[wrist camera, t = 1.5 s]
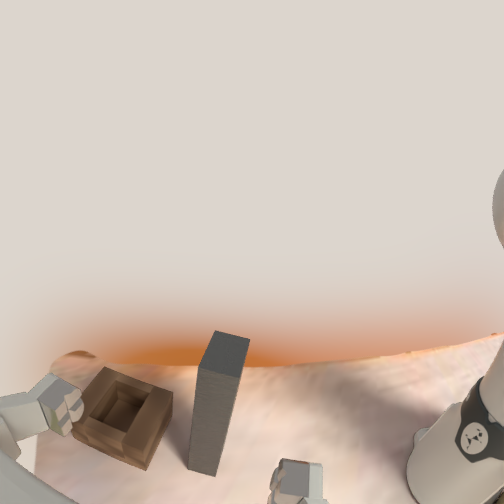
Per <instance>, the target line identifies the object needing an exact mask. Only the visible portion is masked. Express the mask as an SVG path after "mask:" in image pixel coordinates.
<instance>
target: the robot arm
mask: <svg viewBox="0 0 504 504" xmlns="http://www.w3.org/2000/svg"><path fill="white" fill-rule="evenodd" d="M492 209H493V220H494V225H495V229H496V232H497V235H498V238H499V240H500V242H501V244H502V246H503V248H504V170H503V171H502V173H501V175H500V177H499V179H498V181H497V184H496V187H495V190H494V195H493V206H492ZM81 395H82V394H81V390H80V389H79V388H77V387H75V386H73V385H71V384H70V383H68V382H66V381H64V380H63V379H61V378H59V377H58V376H56V375H54V374H53V373H49V374H47V375H46V376H45V377H44V378H43V379H42V380H41V381H40V382H39V383H38V384H37V385H36V386H35V387H33V389H31V390H30V391H29V392H28V393H26V392H22V393H17V394H13V395H9V396H3V397H0V504H78V503H77V502H75V501H73V500H72V499H70V498H68V497H66V496H65V495H63V494H62V493H60V492H58V491H57V490H55V489H54V488H52V487H51V486H49V485H48V484H46V483H45V482H43V481H42V480H40V479H39V478H38V477H36V476H35V475H33V474H32V473H31V472H29V471H28V470H27V469H25V468H24V467H23V466H21V465H20V464H18V463H17V462H16V461H15V460H16V459H17V458H18V457H19V455H20V454H21V450H20V448H19V446H18V445H17V443H16V442H17V441H19V440H23V439H25V438H28V437H30V436H33V435H36V434H38V433H41V432H43V431H46V430H49V428H50V429H51V430H53V431H55V432H56V433H58V434H60V435H62V436H63V437H66V435H67V434H68V433H69V432H70V430H71V429H72V428H73V425H72V422H76V421H78V420H79V419H80V417H81V416H82V414H83V411H84V403H83V401H82V400H81V398H80V396H81ZM407 480H408V484H409V487H410V489H411V492H412V493H413V495H414V497H415V498H416V500H417V501H418V502H419V503H420V504H493V503H494V501H495V500H496V499H497V497H498V496H499V494H500V493H501V491H502V490H503V488H504V341H503V343H502V345H501V347H500V349H499V351H498V353H497V355H496V357H495V359H494V361H493V363H492V364H491V366H490V368H489V369H488V371H487V373H486V374H485V376H483V377H481V378H480V379H479V380H478V381H477V383H476V384H475V385H474V386H473V387H472V388H471V390H470V391H469V393H468V395H467V397H466V398H465V400H464V401H463V402H459V403H456V404H451V405H450V406H449V407H448V408H447V410H446V411H445V412H444V413H443V414H442V415H441V417H440V418H439V419H438V420H437V421H436V422H435V423H434V425H433V426H432V427H428V428H422V429H420V430H419V431H418V432H417V433H416V434H415V436H414V449H413V451H412V453H411V455H410V457H409V460H408V463H407ZM270 490H271V491H272V492H271V494H270V495H269V497H268V501H267V504H329V502H328V501H327V500H326V499H322V498H323V467H322V464H319V463H310V462H305V461H297V460H290V459H284V458H282V459H281V460H280V462H279V467H278V468H276V469H275V471H274V472H273V475H272V478H271V482H270Z"/></svg>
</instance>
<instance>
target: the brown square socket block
mask: <svg viewBox="0 0 504 504" xmlns="http://www.w3.org/2000/svg"><path fill="white" fill-rule="evenodd" d="M80 398H81V400H82V401H83V403H84V411H83V414H82V416H81V417H80V419H79V420H78V421H76V422H72V425H73V428H72V429H71V431H72V434H73V436H74V438H75V439H77V440H79V441H81V442H83V443H85V444H87V445H89V446H91V447H93V448H95V449H97V450H99V451H101V452H103V453H105V454H107V455H109V456H111V457H114V458H116V459H118V460H120V461H123V462H125V463H127V464H130V465H132V466H135V467H137V468H140V469H142V470H145V471H146V470H147V468H148V466H149V464H150V461H151V459H152V457H153V455H154V453H155V451H156V449H157V447H158V444H159V442H160V440H161V438H162V436H163V434H164V432H165V430H166V427H167V425H168V423H169V421H170V419H171V417H172V403H173V392H171V391H168V390H165V389H162V388H159V387H156V386H153V385H150V384H148V383H145V382H142V381H139V380H137V379H134V378H131V377H129V376H126V375H124V374H121V373H119V372H116V371H114V370H111V369H109V368H107V367H104V368H103V369H102V370H101V371H100V372H99V374H98V375H97V376H96V377H95V378H94V380H93V381H92V382H91V383H90V385H89V386H88V387H87V388H86V389H85V391H84V392H83V393H82V395H81V396H80Z"/></svg>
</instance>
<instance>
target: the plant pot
mask: <svg viewBox="0 0 504 504" xmlns="http://www.w3.org/2000/svg"><path fill="white" fill-rule="evenodd" d="M496 504H504V492H503V493H502V495H501V496H500V498H499V499H498V501H497V502H496Z"/></svg>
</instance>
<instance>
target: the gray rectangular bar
mask: <svg viewBox="0 0 504 504" xmlns="http://www.w3.org/2000/svg"><path fill="white" fill-rule="evenodd" d="M249 342H250V339H247V338H243V337H239V336H235V335H231V334H227V333H223V332H219V331H215V332H214V334H213V336H212V338H211V341H210V343H209V345H208V347H207V349H206V351H205V354H204V356H203V358H202V360H201V362H200V364H199V367H198V373H197V382H196V390H195V399H194V409H193V418H192V428H191V438H190V449H189V460H188V470H192V471H195V472H199V473H202V474H206V475H210V476H214V477H215V476H216V472H217V469H218V465H219V462H220V458H221V454H222V451H223V447H224V444H225V440H226V436H227V432H228V428H229V424H230V420H231V416H232V412H233V408H234V404H235V400H236V396H237V392H238V388H239V384H240V380H241V375H242V371H243V367H244V363H245V359H246V355H247V351H248V346H249Z"/></svg>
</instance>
